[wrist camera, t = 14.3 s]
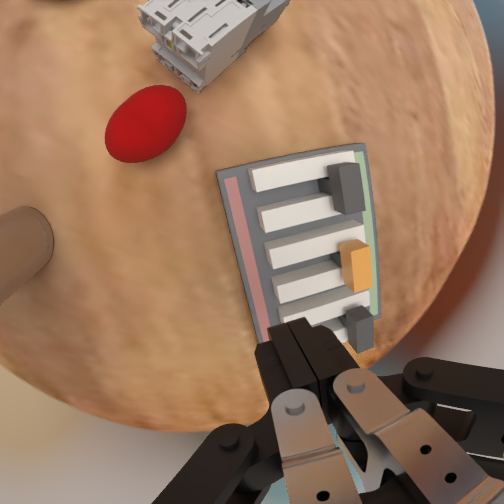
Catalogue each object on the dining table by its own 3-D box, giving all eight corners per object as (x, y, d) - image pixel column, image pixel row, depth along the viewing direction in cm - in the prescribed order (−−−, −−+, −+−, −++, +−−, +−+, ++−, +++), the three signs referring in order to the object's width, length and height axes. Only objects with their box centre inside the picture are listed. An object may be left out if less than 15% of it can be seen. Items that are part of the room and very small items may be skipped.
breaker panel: (259, 345, 46) (274, 390, 36) (215, 170, 37) (221, 175, 27) (371, 309, 47) (405, 341, 38) (354, 143, 39) (397, 142, 29)
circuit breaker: (277, 26, 32) (317, -29, 18) (198, 94, 34) (199, 57, 20) (236, -7, 30) (257, -72, 16) (156, 58, 31) (134, 8, 17)
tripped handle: (330, 271, 40) (354, 292, 33) (325, 235, 38) (350, 251, 32) (346, 266, 40) (372, 286, 34) (342, 230, 39) (369, 246, 32)
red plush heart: (166, 84, 33) (156, 61, 23) (202, 125, 35) (203, 114, 26) (109, 135, 33) (81, 129, 24) (144, 175, 36) (125, 182, 26)
